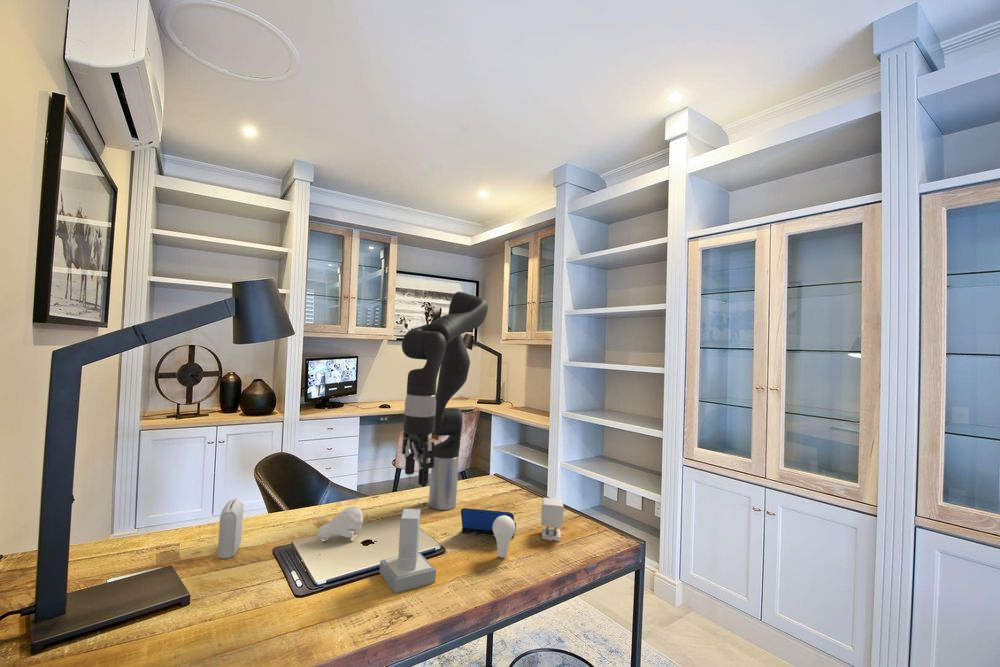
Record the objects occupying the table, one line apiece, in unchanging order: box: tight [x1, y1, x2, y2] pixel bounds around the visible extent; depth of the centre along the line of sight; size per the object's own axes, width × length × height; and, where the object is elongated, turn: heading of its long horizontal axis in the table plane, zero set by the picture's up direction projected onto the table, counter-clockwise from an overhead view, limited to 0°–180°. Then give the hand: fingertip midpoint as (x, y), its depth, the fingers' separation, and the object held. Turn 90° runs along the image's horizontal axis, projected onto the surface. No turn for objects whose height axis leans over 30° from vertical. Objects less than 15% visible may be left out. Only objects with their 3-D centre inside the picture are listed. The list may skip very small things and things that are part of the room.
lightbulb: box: [492, 515, 516, 559], centre depth 121 cm, size 6×6×11 cm
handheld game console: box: [460, 507, 517, 539], centre depth 136 cm, size 16×13×9 cm
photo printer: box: [217, 498, 244, 559], centre depth 116 cm, size 10×4×12 cm, turn 20°
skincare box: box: [397, 508, 421, 570], centre depth 108 cm, size 6×4×12 cm
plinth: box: [379, 551, 437, 594], centre depth 108 cm, size 10×10×3 cm
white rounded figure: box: [317, 506, 364, 542], centre depth 126 cm, size 6×8×12 cm
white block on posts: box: [540, 497, 564, 542], centre depth 136 cm, size 6×7×10 cm
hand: (415, 479), depth 110 cm, fingers open, 8 cm apart
